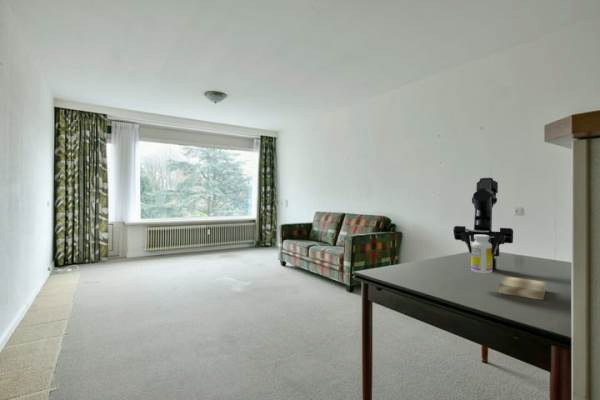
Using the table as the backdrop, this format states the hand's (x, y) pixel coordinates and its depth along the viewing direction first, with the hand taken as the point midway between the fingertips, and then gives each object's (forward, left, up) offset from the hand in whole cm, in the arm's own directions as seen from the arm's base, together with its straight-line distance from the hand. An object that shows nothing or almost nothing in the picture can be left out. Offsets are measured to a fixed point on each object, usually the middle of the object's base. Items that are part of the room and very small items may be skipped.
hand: (481, 253), depth 111 cm
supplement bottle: (0, +1, -7) cm, 7 cm away
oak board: (+11, +7, -13) cm, 19 cm away
